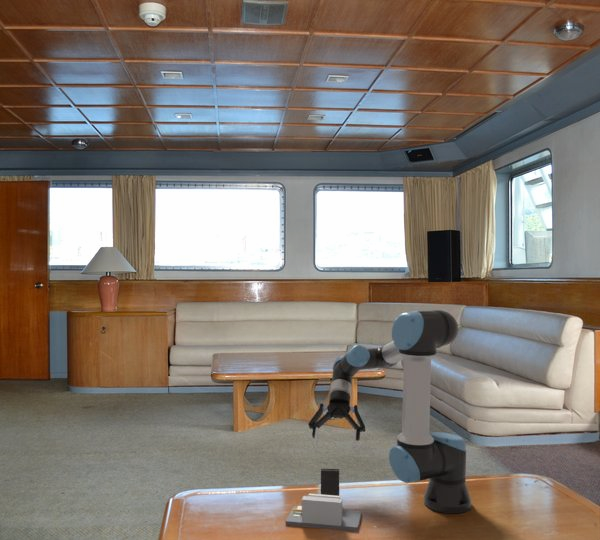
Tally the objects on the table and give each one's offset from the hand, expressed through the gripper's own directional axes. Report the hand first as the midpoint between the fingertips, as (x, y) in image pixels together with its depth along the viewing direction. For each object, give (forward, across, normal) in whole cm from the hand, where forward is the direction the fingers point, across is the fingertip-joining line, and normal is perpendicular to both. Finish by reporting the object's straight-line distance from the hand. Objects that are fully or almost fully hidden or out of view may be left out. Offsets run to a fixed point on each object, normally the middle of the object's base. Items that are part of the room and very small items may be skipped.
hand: (334, 447), depth 210 cm
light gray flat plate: (+26, +3, +5) cm, 26 cm away
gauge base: (+27, 0, +4) cm, 27 cm away
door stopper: (+19, 0, -4) cm, 19 cm away
